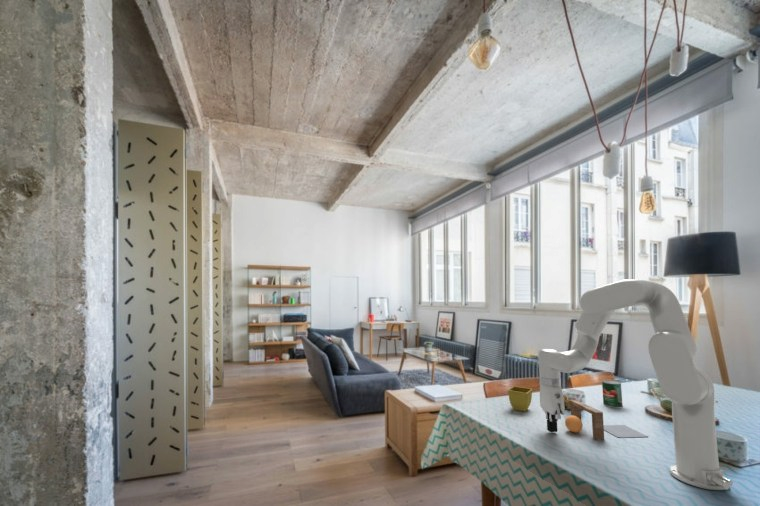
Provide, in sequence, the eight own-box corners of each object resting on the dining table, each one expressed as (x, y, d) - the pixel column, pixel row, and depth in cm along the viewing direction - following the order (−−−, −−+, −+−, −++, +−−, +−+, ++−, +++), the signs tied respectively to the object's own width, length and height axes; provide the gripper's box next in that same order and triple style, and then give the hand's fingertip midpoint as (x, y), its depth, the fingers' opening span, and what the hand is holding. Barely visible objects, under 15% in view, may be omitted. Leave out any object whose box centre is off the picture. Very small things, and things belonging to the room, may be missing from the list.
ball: (576, 416, 136) (568, 430, 135) (589, 424, 136) (581, 438, 135) (566, 409, 141) (559, 423, 141) (578, 417, 142) (571, 431, 141)
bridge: (604, 439, 131) (602, 412, 132) (596, 440, 131) (595, 412, 132) (578, 424, 146) (577, 400, 147) (571, 425, 145) (570, 400, 147)
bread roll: (582, 419, 163) (589, 403, 163) (560, 408, 165) (567, 392, 165) (575, 412, 173) (582, 397, 173) (554, 401, 175) (560, 387, 175)
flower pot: (528, 414, 159) (527, 393, 160) (508, 410, 164) (507, 389, 165) (533, 409, 166) (532, 388, 167) (513, 405, 171) (513, 385, 172)
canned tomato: (622, 404, 174) (620, 381, 175) (623, 408, 167) (621, 384, 168) (603, 401, 178) (601, 379, 179) (603, 405, 171) (601, 382, 173)
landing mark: (648, 437, 134) (648, 436, 134) (618, 437, 133) (618, 437, 133) (624, 425, 146) (624, 424, 146) (596, 426, 145) (596, 425, 145)
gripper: (571, 386, 132) (573, 438, 130) (548, 377, 147) (550, 424, 145) (551, 386, 131) (553, 439, 129) (531, 377, 146) (533, 424, 144)
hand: (552, 431), depth 137 cm, fingers closed
